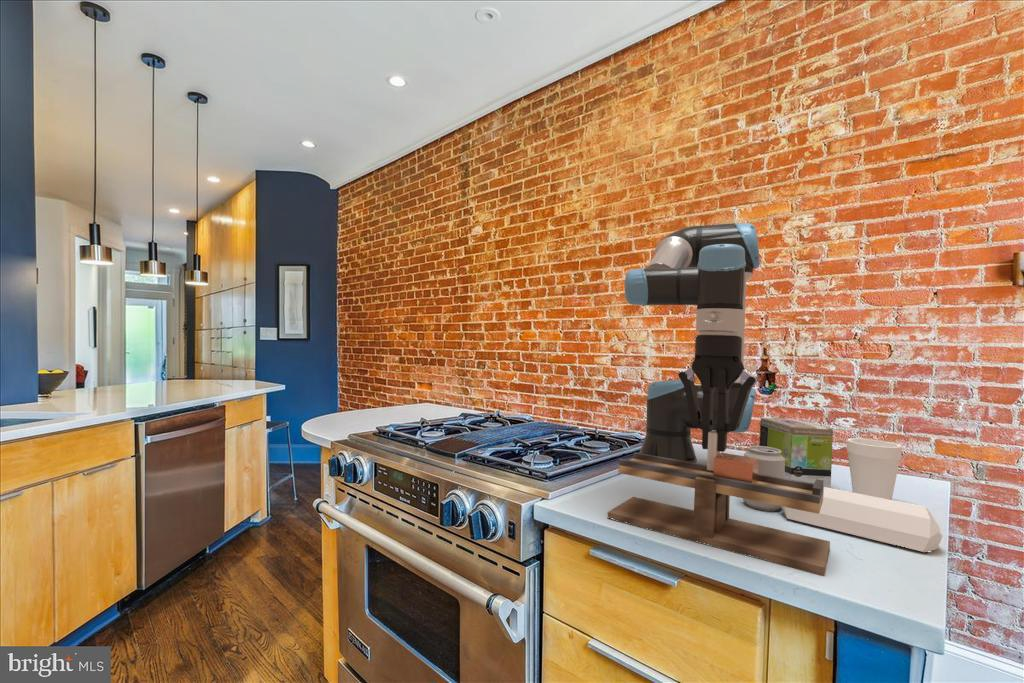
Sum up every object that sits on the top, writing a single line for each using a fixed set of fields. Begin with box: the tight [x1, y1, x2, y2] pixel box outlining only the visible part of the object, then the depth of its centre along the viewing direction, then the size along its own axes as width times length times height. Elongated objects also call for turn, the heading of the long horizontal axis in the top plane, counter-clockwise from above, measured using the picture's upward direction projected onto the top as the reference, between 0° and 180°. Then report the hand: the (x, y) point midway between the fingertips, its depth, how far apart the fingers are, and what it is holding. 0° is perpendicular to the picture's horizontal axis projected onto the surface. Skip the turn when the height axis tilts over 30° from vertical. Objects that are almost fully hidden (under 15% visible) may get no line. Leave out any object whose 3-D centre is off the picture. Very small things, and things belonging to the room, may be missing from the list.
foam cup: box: [846, 437, 903, 500], centre depth 104 cm, size 10×9×13 cm
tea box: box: [759, 417, 834, 488], centre depth 119 cm, size 15×10×15 cm
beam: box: [617, 452, 824, 514], centre depth 85 cm, size 32×8×4 cm, turn 53°
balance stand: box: [607, 477, 831, 577], centre depth 85 cm, size 34×12×10 cm, turn 53°
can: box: [742, 445, 785, 512], centre depth 100 cm, size 8×8×12 cm
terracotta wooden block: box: [713, 452, 759, 484], centre depth 82 cm, size 6×5×4 cm
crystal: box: [781, 487, 943, 553], centre depth 87 cm, size 7×7×24 cm
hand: (713, 468), depth 85 cm, fingers closed
